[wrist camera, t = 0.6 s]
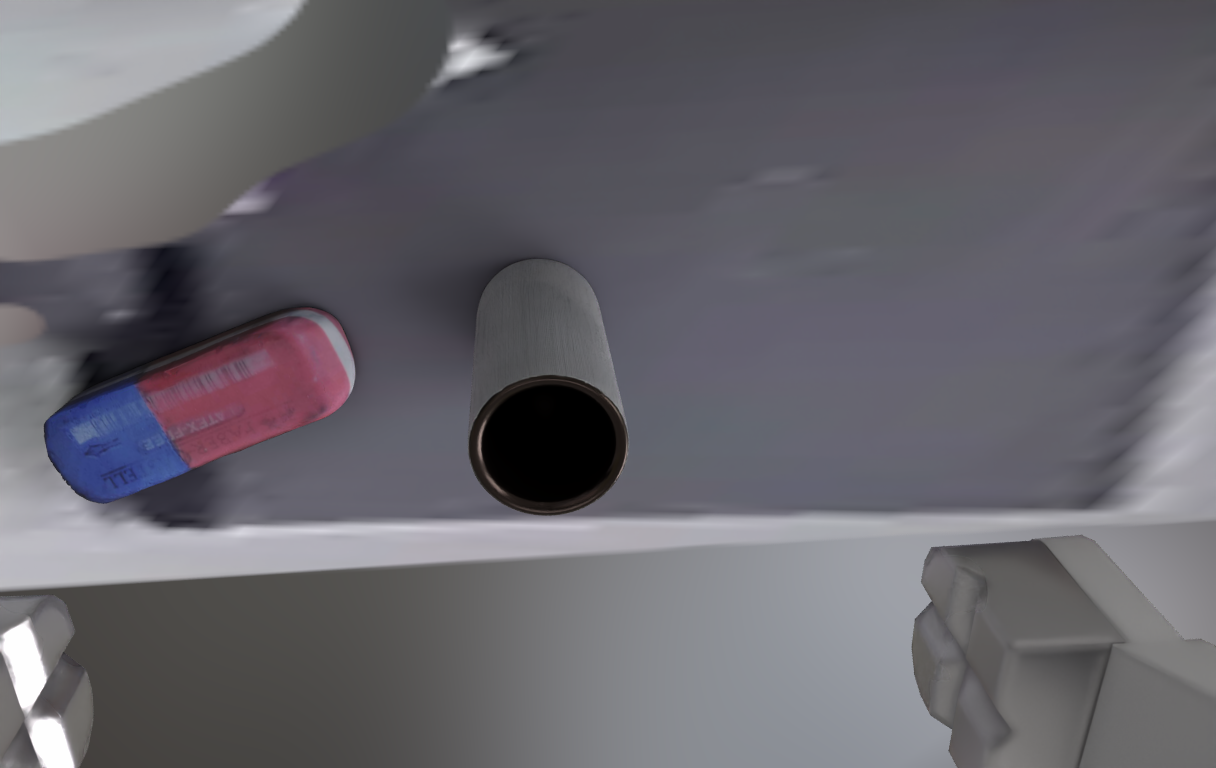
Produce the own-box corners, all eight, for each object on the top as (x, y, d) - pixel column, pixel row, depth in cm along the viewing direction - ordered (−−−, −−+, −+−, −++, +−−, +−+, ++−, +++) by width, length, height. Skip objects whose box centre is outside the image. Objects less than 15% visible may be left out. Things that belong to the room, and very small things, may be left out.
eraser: (324, 290, 37) (316, 306, 35) (374, 385, 38) (369, 405, 37) (40, 403, 37) (20, 424, 36) (102, 492, 39) (86, 516, 37)
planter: (494, 383, 39) (490, 532, 30) (462, 272, 37) (448, 396, 28) (610, 356, 39) (643, 497, 29) (584, 244, 37) (611, 358, 28)
